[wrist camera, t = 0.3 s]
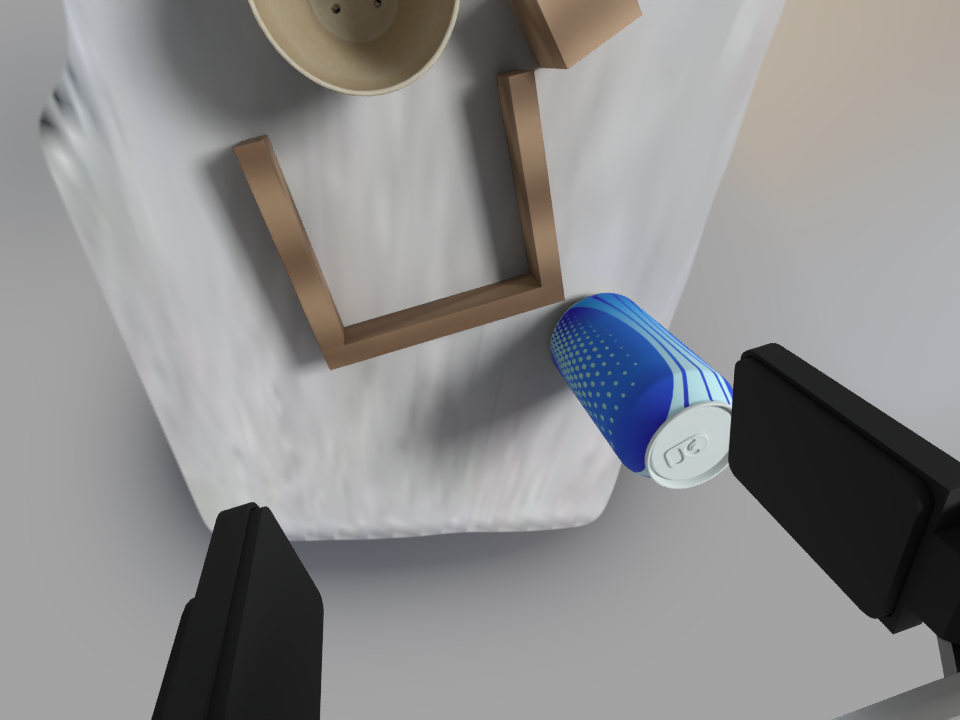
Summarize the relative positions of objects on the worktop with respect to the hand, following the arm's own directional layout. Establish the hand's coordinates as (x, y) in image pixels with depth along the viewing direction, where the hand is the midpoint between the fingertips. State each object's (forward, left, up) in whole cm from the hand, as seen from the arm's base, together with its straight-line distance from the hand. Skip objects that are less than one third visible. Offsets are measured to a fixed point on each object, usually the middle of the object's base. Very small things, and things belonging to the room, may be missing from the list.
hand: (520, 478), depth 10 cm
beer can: (+16, +13, -30) cm, 37 cm away
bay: (+2, +1, -30) cm, 30 cm away
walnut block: (-8, +13, -30) cm, 33 cm away
